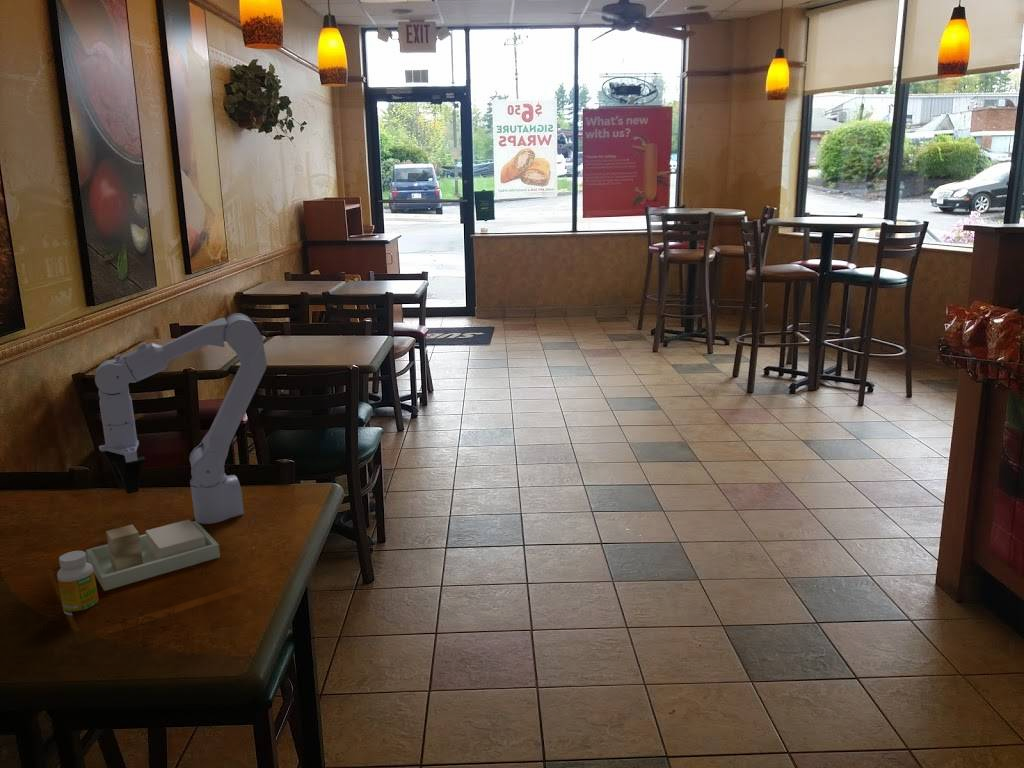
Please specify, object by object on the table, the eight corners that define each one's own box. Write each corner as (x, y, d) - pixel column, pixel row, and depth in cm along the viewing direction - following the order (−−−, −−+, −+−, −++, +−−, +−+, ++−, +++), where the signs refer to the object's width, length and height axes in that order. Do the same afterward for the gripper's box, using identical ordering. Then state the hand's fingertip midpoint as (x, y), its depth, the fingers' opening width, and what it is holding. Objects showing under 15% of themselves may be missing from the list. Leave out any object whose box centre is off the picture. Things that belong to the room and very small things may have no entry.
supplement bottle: (84, 618, 134) (75, 564, 132) (56, 615, 136) (46, 562, 133) (106, 601, 140) (97, 549, 137) (79, 599, 141) (69, 547, 138)
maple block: (137, 558, 153) (132, 524, 151) (143, 567, 149) (138, 532, 147) (111, 566, 150) (106, 531, 148) (117, 575, 147) (111, 539, 145)
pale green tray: (198, 536, 164) (196, 520, 163) (220, 561, 153) (218, 544, 152) (88, 566, 152) (86, 549, 151) (104, 595, 141) (101, 577, 141)
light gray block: (191, 538, 161) (188, 519, 160) (207, 555, 153) (204, 536, 152) (148, 549, 156) (145, 530, 155) (162, 568, 149) (159, 548, 148)
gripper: (88, 417, 163) (97, 481, 166) (104, 434, 152) (114, 502, 155) (126, 410, 167) (134, 473, 170) (144, 426, 156) (153, 493, 159)
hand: (127, 486), depth 163 cm, fingers open, 7 cm apart
